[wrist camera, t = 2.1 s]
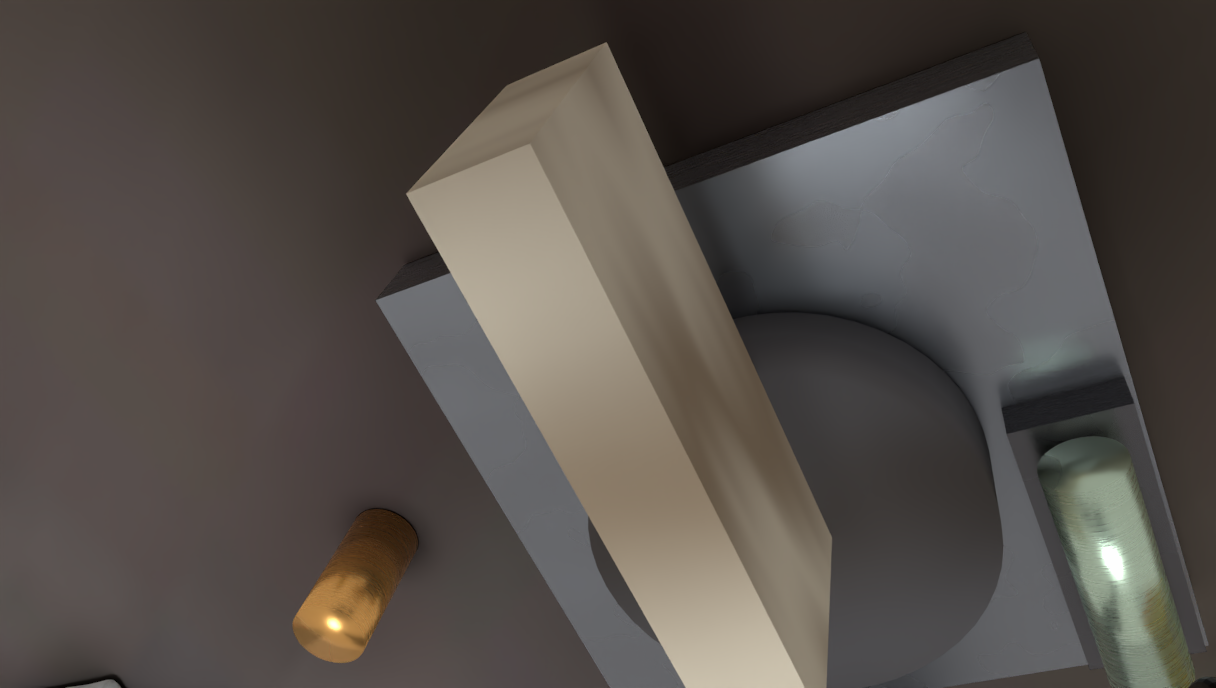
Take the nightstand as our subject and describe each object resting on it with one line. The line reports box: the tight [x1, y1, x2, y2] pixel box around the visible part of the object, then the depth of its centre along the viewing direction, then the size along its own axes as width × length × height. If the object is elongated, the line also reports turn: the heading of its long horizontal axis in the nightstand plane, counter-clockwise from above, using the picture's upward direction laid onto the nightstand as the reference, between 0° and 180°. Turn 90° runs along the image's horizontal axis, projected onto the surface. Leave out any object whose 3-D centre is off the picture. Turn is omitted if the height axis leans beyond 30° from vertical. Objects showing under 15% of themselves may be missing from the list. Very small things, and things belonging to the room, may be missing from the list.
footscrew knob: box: [406, 42, 1003, 688], centre depth 17 cm, size 12×7×6 cm, turn 25°
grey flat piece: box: [293, 32, 1209, 688], centre depth 21 cm, size 12×17×4 cm
